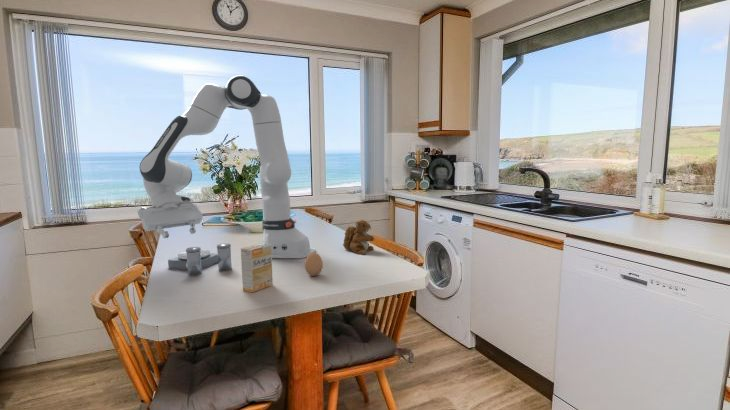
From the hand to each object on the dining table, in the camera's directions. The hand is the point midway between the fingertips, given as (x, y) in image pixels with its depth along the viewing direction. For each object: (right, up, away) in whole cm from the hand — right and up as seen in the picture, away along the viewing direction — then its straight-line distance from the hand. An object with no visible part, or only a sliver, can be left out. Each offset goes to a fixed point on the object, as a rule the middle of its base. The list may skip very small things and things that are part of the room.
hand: (180, 234), depth 136 cm
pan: (+2, -8, +6) cm, 11 cm away
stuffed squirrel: (+63, -9, +25) cm, 68 cm away
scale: (+2, -12, +7) cm, 14 cm away
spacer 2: (+16, -12, 0) cm, 20 cm away
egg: (+49, -13, -8) cm, 51 cm away
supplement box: (+33, -15, -19) cm, 41 cm away
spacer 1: (+7, -13, -4) cm, 16 cm away
